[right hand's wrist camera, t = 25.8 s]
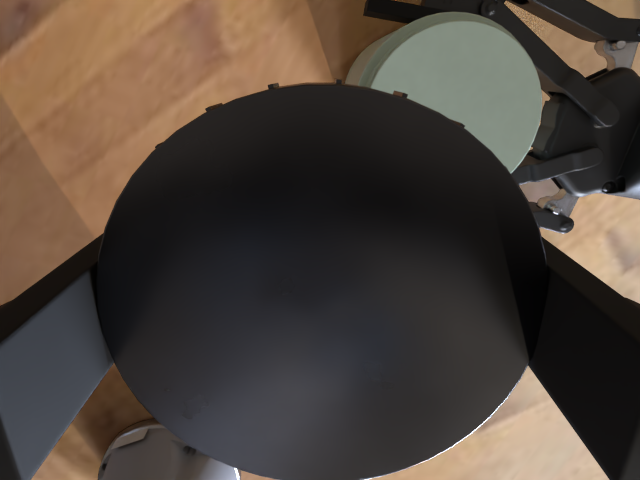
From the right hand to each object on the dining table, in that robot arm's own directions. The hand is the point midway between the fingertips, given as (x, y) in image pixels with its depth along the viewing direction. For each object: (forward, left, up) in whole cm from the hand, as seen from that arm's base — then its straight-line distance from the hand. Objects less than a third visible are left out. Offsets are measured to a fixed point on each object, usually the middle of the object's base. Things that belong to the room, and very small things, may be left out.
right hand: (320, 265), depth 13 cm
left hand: (+3, -3, -18) cm, 19 cm away
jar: (+1, -7, -24) cm, 25 cm away
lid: (0, 0, +3) cm, 3 cm away
